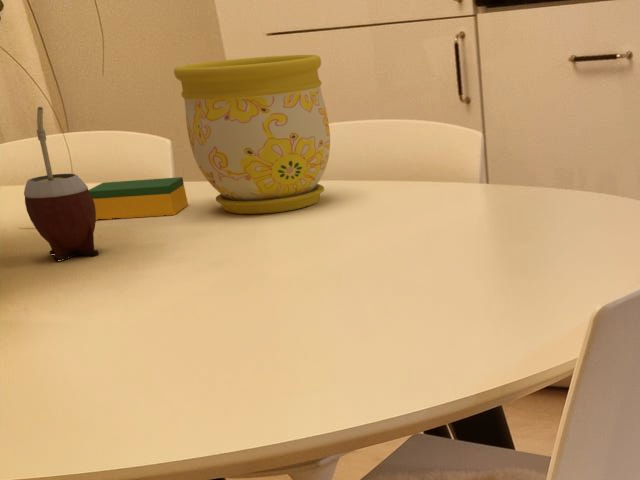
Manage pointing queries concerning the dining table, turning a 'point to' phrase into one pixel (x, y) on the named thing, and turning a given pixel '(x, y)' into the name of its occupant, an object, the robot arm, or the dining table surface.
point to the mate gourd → (61, 208)
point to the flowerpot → (258, 130)
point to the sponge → (139, 198)
